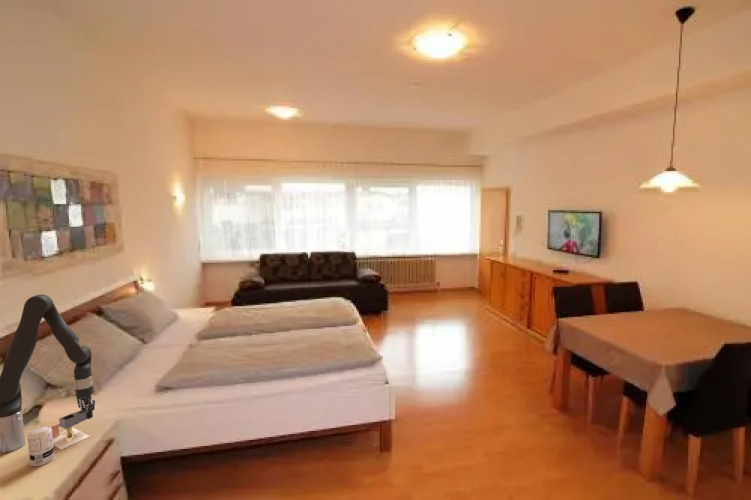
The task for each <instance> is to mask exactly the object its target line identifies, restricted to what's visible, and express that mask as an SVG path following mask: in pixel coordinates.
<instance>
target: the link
mask: <svg viewBox="0 0 751 500" xmlns="http://www.w3.org/2000/svg"><path fill="white" fill-rule="evenodd" d="M92 416H93V417H94V414H93V411H92ZM86 420H88V419H87V413H86V408H85V409H83V410H81V409H80V410H78V411H75V412H71V413H70V414H67V415H64V416H62V417H59V418H58V422H59V423H60V426H59V427H61V428H63V429H65V430H67V428H69V427H72V428H73V427H74V426H76V425H79V424H80V423H82V422H84V421H86Z"/></svg>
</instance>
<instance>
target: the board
mask: <svg viewBox="0 0 751 500" xmlns="http://www.w3.org/2000/svg"><path fill="white" fill-rule="evenodd" d="M66 431H67V429H65V430H64V431H60V432H59V436H58V437H56V438H53V447H55V448H57V449H58V450H61V451H62V450H65V449H67V448H69V447H71V446H73V445H75V443H76V444H78V443H80V442H82V441H84V439H85V440H87V439H88V437H89V438H90V437H91V436H90V435H88V434H86V433H85V432H82V431H80V430H79V429H76V428H74V427H72V431H74V435H73V436H74V438H72V440H71V441H70V442H68V441H67V440H66V439H67V438H66V439H65V435H64V436H63V434H65V433H64V432H66ZM62 433H63V434H62ZM62 437H63V438H62ZM86 438H87V439H86ZM77 442H78V443H77ZM68 443H69V444H68ZM72 444H73V445H72ZM70 445H71V446H70ZM68 446H69V447H68ZM66 447H67V448H66ZM64 448H65V449H64Z"/></svg>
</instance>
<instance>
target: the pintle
mask: <svg viewBox="0 0 751 500" xmlns="http://www.w3.org/2000/svg"><path fill="white" fill-rule="evenodd" d="M72 428H73V426H72V427H69V428H67V429H66V430H67V438H71V437H72Z"/></svg>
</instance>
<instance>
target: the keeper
mask: <svg viewBox="0 0 751 500" xmlns="http://www.w3.org/2000/svg"><path fill="white" fill-rule="evenodd" d="M59 427H60V423H59V421H58V422H56V423H55V424H52V425H51V426H50V428H51V429H52V437H53V438H56V437H58V436H59V433H60V428H59Z"/></svg>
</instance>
